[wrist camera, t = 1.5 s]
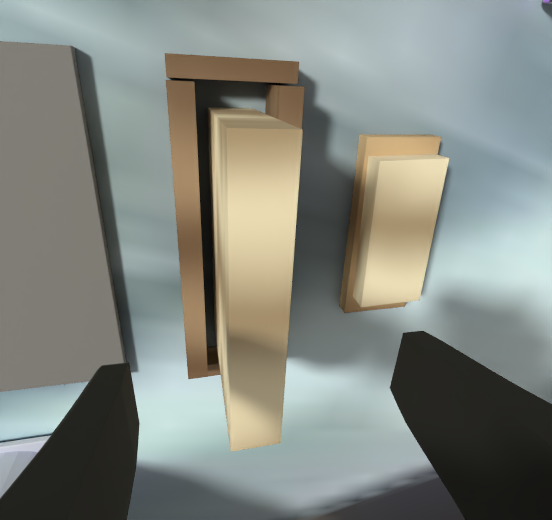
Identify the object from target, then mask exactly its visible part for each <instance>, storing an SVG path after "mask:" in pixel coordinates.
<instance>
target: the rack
mask: <svg viewBox="0 0 552 520" xmlns="http://www.w3.org/2000/svg"><path fill="white" fill-rule="evenodd" d="M165 63H166V76H167V77H168V78H188V79H209V80H229V81H249V82H270V83H291V84H298V70H299V62H294V61H278V60H262V59H246V58H230V57H215V56H199V55H183V54H167V53H165ZM166 88H167V101H168V115H169V128H170V141H171V154H172V168H173V181H174V194H175V207H176V221H177V234H178V247H179V261H180V274H181V287H182V300H183V314H184V327H185V340H186V353H187V367H188V379H193V378H201V377H208V376H214V375H221V373H220V365H219V358H218V350H217V347H209V348H207V345H206V324H205V302H204V280H203V258H202V236H201V214H200V192H199V171H198V149H197V127H196V105H195V83H194V82H193V81H175V80H166ZM304 88H305V87H298V86H280V85H266V114H267V115H269V116H271V117H274V118H276V119H279V120H281V121H283V122H286V123H288V124H291V125H293V126H295V127H298V128H300V129H302V117H303V103H304Z"/></svg>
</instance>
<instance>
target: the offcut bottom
mask: <svg viewBox="0 0 552 520" xmlns="http://www.w3.org/2000/svg"><path fill="white" fill-rule="evenodd" d="M440 140H441V137H439V136H435V135H360V138H359V146H358V154H357V162H356V171H355V179H354V187H353V195H352V204H351V212H350V220H349V229H348V237H347V245H346V253H345V262H344V270H343V278H342V286H341V295H340V303H339V306H340V307H341V309H342V310H343V312H344V313H349V312H358V311H367V310H376V309H385V308H394V307H404V306H405V304H406V302H400V303H392V304H384V305H377V306H369V307H360V305H359V304H358V303H357V301H356V300H355V299H354V297H353V290H354V281H355V272H356V263H357V254H358V245H359V236H360V227H361V219H362V210H363V201H364V192H365V183H366V174H367V166H368V157H369V156H388V155H413V154H438V150H439V145H440Z"/></svg>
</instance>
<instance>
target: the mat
mask: <svg viewBox="0 0 552 520" xmlns="http://www.w3.org/2000/svg"><path fill="white" fill-rule="evenodd" d="M120 363H126V357H125V351H124V345H123V339H122V333H121V327H120V321H119V315H118V309H117V303H116V297H115V291H114V285H113V279H112V273H111V267H110V261H109V254H108V248H107V242H106V236H105V230H104V224H103V218H102V212H101V206H100V200H99V194H98V188H97V182H96V176H95V170H94V164H93V158H92V151H91V145H90V139H89V133H88V127H87V121H86V115H85V109H84V103H83V97H82V91H81V85H80V79H79V73H78V67H77V61H76V54H75V48H74V47H73V46H65V45H50V44H34V43H18V42H3V41H0V392H3V391H12V390H20V389H28V388H36V387H45V386H53V385H61V384H69V383H78V382H86V381H90V380H91V378H92V377H93V375H94V374H95V372H96V371H97V370H98V369H99V368H100V367H101V366H102V365H110V364H120Z"/></svg>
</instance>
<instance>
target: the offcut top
mask: <svg viewBox="0 0 552 520" xmlns="http://www.w3.org/2000/svg"><path fill="white" fill-rule="evenodd" d="M448 162H449V158H447V157H443V156H440V155H437V154H413V155H388V156H369V157H368V166H367V174H366V183H365V192H364V201H363V210H362V219H361V227H360V236H359V245H358V254H357V263H356V272H355V281H354V290H353V297H354V299H355V300H356V301H357V303H358V304H359V305H360V307H369V306H377V305H384V304H392V303H400V302H408V301H416V300H420V295H421V291H422V286H423V281H424V276H425V271H426V267H427V262H428V257H429V252H430V248H431V243H432V238H433V233H434V228H435V224H436V219H437V214H438V209H439V205H440V200H441V195H442V190H443V185H444V181H445V176H446V171H447V166H448Z"/></svg>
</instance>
